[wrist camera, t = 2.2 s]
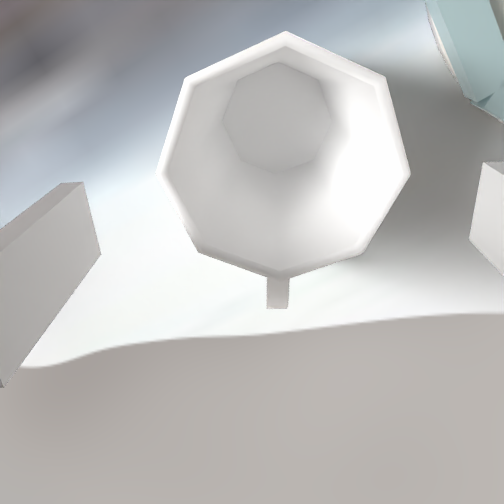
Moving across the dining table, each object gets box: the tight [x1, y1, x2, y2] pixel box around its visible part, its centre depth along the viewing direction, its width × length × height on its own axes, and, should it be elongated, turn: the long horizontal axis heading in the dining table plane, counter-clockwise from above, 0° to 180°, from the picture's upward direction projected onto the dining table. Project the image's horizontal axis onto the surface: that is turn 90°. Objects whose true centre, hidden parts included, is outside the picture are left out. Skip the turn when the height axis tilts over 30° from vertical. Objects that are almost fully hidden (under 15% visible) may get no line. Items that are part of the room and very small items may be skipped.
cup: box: [155, 31, 411, 309], centre depth 16 cm, size 7×10×8 cm
